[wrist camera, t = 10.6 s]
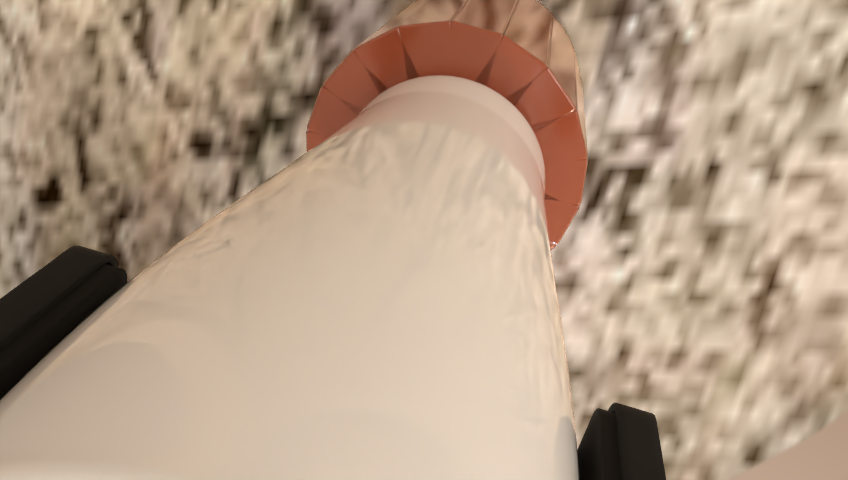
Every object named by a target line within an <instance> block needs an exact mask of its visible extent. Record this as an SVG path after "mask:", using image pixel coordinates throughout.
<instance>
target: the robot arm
mask: <svg viewBox="0 0 848 480" xmlns="http://www.w3.org/2000/svg"><path fill="white" fill-rule="evenodd" d="M125 284H127V274H126V271H125V270H124V269H121V268H119V267H118V261H117V259H116V258H115V257H114V256H112V255H108V254H105V253H102V252H98V251H95V250H91V249H88V248H85V247H81V246H73V247H71V248H69V249H68V250H66V251H65V252H63V253H62V254H61V255H59V256H58V257H57V258H55V259H54V260H53V261H51V262H50V263H48V264H47V265H46V266H44V267H43V268H42V269H40V270H39V271H38V272H36V273H35V274H34V275H32V276H31V277H29V278H28V279H27V280H25V281H24V282H23V283H21V284H20V285H19V286H17V287H16V288H14V289H13V290H12V291H10V292H9V293H8V294H6V295H5V296H4V297H2V298H1V299H0V400H1V399H2V398H3V397H4V396H5V395H6V394H7V393H8V392H9V391H10V390H11V389H12V388H13V387H14V386H15V385H16V384H17V383H18V382H19V381H20V380H21V379H22V378H23V377H24V376H25V375H26V374H27V373H28V372H29V371H30V370H31V369H32V368H33V367H34V366H35V365H37V364H38V363H39V362H40V361H41V360H42V359H43V358H44V357H45V356H46V355H47V354H48V353H49V352H50V351H51V350H52V349H53V348H54V347H55V346H56V345H58V344H59V343H60V342H61V341H62V340H63V339H64V338H65V337H66V336H67V335H68V334H70V333H71V332H72V331H73V330H74V329H75V328H76V327H77V326H78V325H79V324H80V323H81V322H83V321H84V320H85V319H86V318H87V317H88V316H89V315H90V314H92V313H93V312H94V311H95V310H96V309H97V308H98V307H100V306H101V305H102V304H103V303H104V302H105V301H106V300H108V299H109V298H110V297H111V296H112V295H113V294H114V293H116V292H117V291H118V290H119V289H121V288H122V287H123V286H124V285H125ZM577 452H578V465H579V480H666V476H665V470H664V464H663V458H662V452H661V446H660V440H659V434H658V428H657V421H656V418H655V415H654V414H652V413H649V412H646V411H642V410H639V409H635V408H632V407H629V406H625V405H622V404H618V403H613V404H612V405H611V406H610V408H609V410H608V411H606V410H602V409H599V408H598V409H596V410H595V412H594V414H593V416H592V418H591V420H590V422H589V425H588V427H587V429H586V432H585V434H584V436H583V438H582V441H581V443H580V445H579V448H578V450H577Z"/></svg>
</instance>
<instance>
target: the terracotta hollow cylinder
mask: <svg viewBox="0 0 848 480" xmlns="http://www.w3.org/2000/svg"><path fill="white" fill-rule="evenodd" d="M430 75H447V76H456V77H462V78H465V79H469V80H473V81H475V82H478V83H481V84H483V85H485V86H487V87H489V88H491V89H493V90H494V91H496V92H498V93H499V94H501V95H502V96H503V97H505V98H506V99H507V100H509V101H510V102H511V103H512V104H513V105H514V106H515V107H516V108H517V109H518V110H519V111H520V112H521V114H522V115H523V116H524V117H525V119H526V120H527V121H528V123H529V124H530V126H531V128H532V130H533V131H534V133H535V135H536V138H537V140H538V142H539V145H540V148H541V151H542V155H543V159H544V165H545V199H544V201H545V210H546V218H547V225H548V233H549V240H550V248H551V250H552V249H553V248H554V247H555V246H556V244H558V243H559V242H560V240H561V238H562V237H563V235H564V233H565V231H566V230H567V228H568V226H569V225H570V223H571V221H572V220H573V218H574V216H575V214H576V213H577V211H578V209H579V205H580V204H581V202H582V195H583V189H584V183H585V176H586V170H587V163H588V157H587V156H588V152H587V140H586V127H585V114H584V102H583V89H582V81H581V77H580V72H579V65H578V60H577V57H576V53H575V50H574V47H573V45H572V43H571V41H570V38H569V36H568V35H567V33H566V31H565V30H564V28H563V27H562V25H561V24H560V22H559V21H558V20H557V19H556V18H555V16H554V15H553V14H552V13H551V12H550V11H549V10H548V9H547V8H546V7H544V6H543V5H542V4H541V3H540V2H538V1H537V0H418V1H416V2H414V3H412V4H411V5H409V6H408V7H407V8H405V9H404V10H403V11H402V12H400V13H399V14H398V15H396V16H395V17H394V18H393V19H391V20H390V21H389V22H388V23H386V24H385V25H384V26H382V27H381V28H380V29H379V30H377V31H376V32H375V33H373V34H372V35H371V36H370V37H368V38H367V39H366V40H365V41H363V42H362V43H361V44H359V45H358V46H357V47H356V48H354V49H353V50H352V51H351V52H350V53H349V54H348V55H347V56H346V58H345V59H344V60H343V61H342V62H341V63H340V64H339V66H338V67H337V68H336V69H335V70H334V71H333V73H332V74H331V75H330V76H329V77H328V78H327V79H326V81H325V82H324V84H323V86H322V87H321V88H320V91H319V94H318V97H317V100H316V103H315V105H314V108H313V111H312V114H311V117H310V120H309V123H308V125H307V129H308V130H307V132H306V138H307V152H308V151H309V150H311V149H312V148H314V147H315V146H316V145H318V144H319V143H321V142H322V141H323V140H325V139H326V138H328V137H329V136H330V135H332V134H333V133H335V132H336V131H337V130H339V129H340V128H342V127H343V126H344V125H346V124H347V123H348V122H350V121H351V120H353V119H354V118H355V117H356V116H357V115H358V114H359V113H360V111H361V110H362V109H363V108H364V107H365V106H366V105H367V104H368V103H369V102H371V101H372V100H373V99H374V98H375V97H377V96H378V95H379V94H380V93H382V92H383V91H385V90H387V89H388V88H390V87H392V86H394V85H396V84H398V83H401V82H404V81H407V80H409V79H413V78H417V77H422V76H430Z"/></svg>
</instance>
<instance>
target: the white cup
mask: <svg viewBox="0 0 848 480" xmlns="http://www.w3.org/2000/svg"><path fill="white" fill-rule="evenodd" d="M544 199H545V165H544V159H543V155H542V151H541V148H540V145H539V142H538V140H537V138H536V135H535V133H534V131H533V130H532V128H531V126H530V124H529V123H528V121H527V120H526V119H525V117H524V116H523V115H522V114H521V112H520V111H519V110H518V109H517V108H516V107H515V106H514V105H513V104H512V103H511V102H510V101H509V100H507V99H506V98H505V97H503V96H502V95H501V94H499V93H498V92H496V91H494V90H493V89H491V88H489V87H487V86H485V85H483V84H481V83H478V82H475V81H473V80H469V79H465V78H462V77H456V76H447V75H430V76H422V77H417V78H413V79H409V80H407V81H404V82H401V83H398V84H396V85H394V86H392V87H390V88H388V89H387V90H385V91H383V92H382V93H380V94H379V95H378V96H377V97H375V98H374V99H373V100H372V101H371V102H369V103H368V104H367V105H366V106H365V107H364V108H363V109H362V110H361V111H360V113H359V114H358V115H357V116H356V117H355V118H354V119H353V120H351V121H350V122H348V123H347V124H346V125H344V126H343V127H342V128H340V129H339V130H337V131H336V132H335V133H333V134H332V135H330V136H329V137H328V138H326V139H325V140H323V141H322V142H321V143H319V144H318V145H316V146H315V147H314V148H312V149H311V150H309V151H308V152H307V153H305V154H304V155H302V156H301V157H299V158H298V159H297V160H295V161H294V162H292V163H291V164H289V165H288V166H287V167H285V168H284V169H282V170H281V171H279V172H278V173H277V174H275V175H274V176H272V177H271V178H269V179H268V180H266V181H265V182H264V183H262V184H261V185H259V186H258V187H256V188H255V189H253V190H252V191H251V192H249V193H248V194H246V195H245V196H243V197H242V198H241V199H239V200H238V201H236V202H235V203H233V204H232V205H230V206H229V207H228V208H226V209H225V210H223V211H222V212H220V213H219V214H218V215H216V216H215V217H213V218H212V219H211V220H209V221H208V222H206V223H205V224H204V225H202V226H201V227H199V228H198V229H197V230H195V231H194V232H192V233H191V234H190V235H188V236H187V237H186V238H184V239H183V240H182V241H180V242H179V243H178V244H176V245H175V246H174V247H172V248H171V249H170V250H168V251H167V252H166V253H164V254H163V255H162V256H161V257H159V258H158V259H157V260H155V261H154V262H153V263H151V264H150V265H149V266H148V267H146V268H145V269H144V270H142V271H141V272H140V273H139V274H137V275H136V276H135V277H134V278H133V279H131V280H130V281H129V282H128V283H127V284H125V285H124V286H123V287H122V288H121V289H119V290H118V291H117V292H116V293H114V294H113V295H112V296H111V297H110V298H109V299H108V300H106V301H105V302H104V303H103V304H102V305H101V306H100V307H98V308H97V309H96V310H95V311H94V312H93V313H92V314H90V315H89V316H88V317H87V318H86V319H85V320H84V321H83V322H81V323H80V324H79V325H78V326H77V327H76V328H75V329H74V330H73V331H72V332H71V333H70V334H68V335H67V336H66V337H65V338H64V339H63V340H62V341H61V342H60V343H59V344H58V345H56V346H55V347H54V348H53V349H52V350H51V351H50V352H49V353H48V354H47V355H46V356H45V357H44V358H43V359H42V360H41V361H40V362H39V363H38V364H37V365H35V366H34V367H33V368H32V369H31V370H30V371H29V372H28V373H27V374H26V375H25V376H24V377H23V378H22V379H21V380H20V381H19V382H18V383H17V384H16V385H15V386H14V387H13V388H12V389H11V390H10V391H9V392H8V393H7V394H6V395H5V396H4V397H3V398H2V399H1V400H0V480H579V465H578V452H577V442H576V432H575V422H574V412H573V402H572V395H571V387H570V379H569V372H568V365H567V358H566V351H565V344H564V337H563V330H562V324H561V317H560V310H559V303H558V297H557V290H556V283H555V276H554V269H553V262H552V255H551V248H550V240H549V233H548V225H547V218H546V210H545V201H544Z"/></svg>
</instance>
